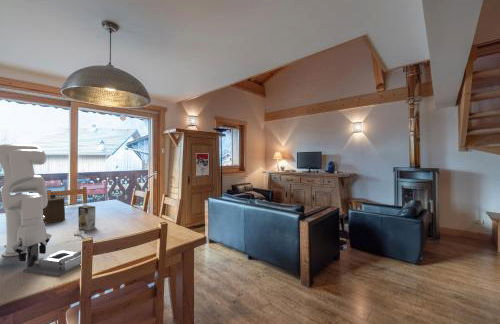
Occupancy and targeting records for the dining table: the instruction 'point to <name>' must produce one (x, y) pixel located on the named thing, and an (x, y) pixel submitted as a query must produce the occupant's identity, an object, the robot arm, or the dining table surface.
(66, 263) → the white grey box
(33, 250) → the dark grey block
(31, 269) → the charcoal mat
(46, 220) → the wooden container
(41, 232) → the robot arm
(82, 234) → the adjustable wrench
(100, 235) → the dining table surface
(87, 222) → the coffee box
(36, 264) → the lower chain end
